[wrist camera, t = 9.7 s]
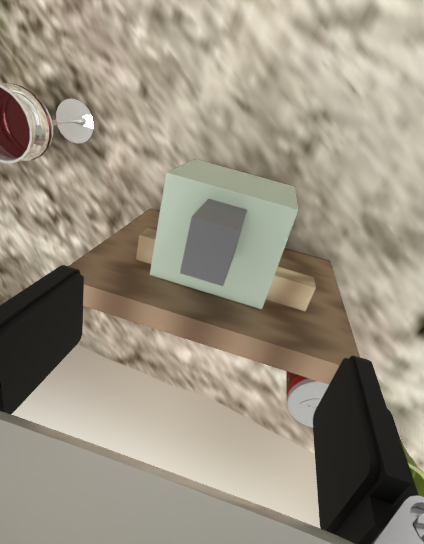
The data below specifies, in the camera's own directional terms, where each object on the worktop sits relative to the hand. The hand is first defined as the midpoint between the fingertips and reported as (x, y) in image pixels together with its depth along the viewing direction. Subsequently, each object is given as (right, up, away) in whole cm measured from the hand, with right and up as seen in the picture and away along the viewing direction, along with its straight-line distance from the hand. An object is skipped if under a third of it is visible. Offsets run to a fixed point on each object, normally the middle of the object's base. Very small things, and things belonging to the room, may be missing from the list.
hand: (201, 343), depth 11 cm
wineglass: (-16, +21, +29) cm, 39 cm away
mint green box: (+3, +8, +22) cm, 24 cm away
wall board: (+3, +5, +32) cm, 32 cm away
